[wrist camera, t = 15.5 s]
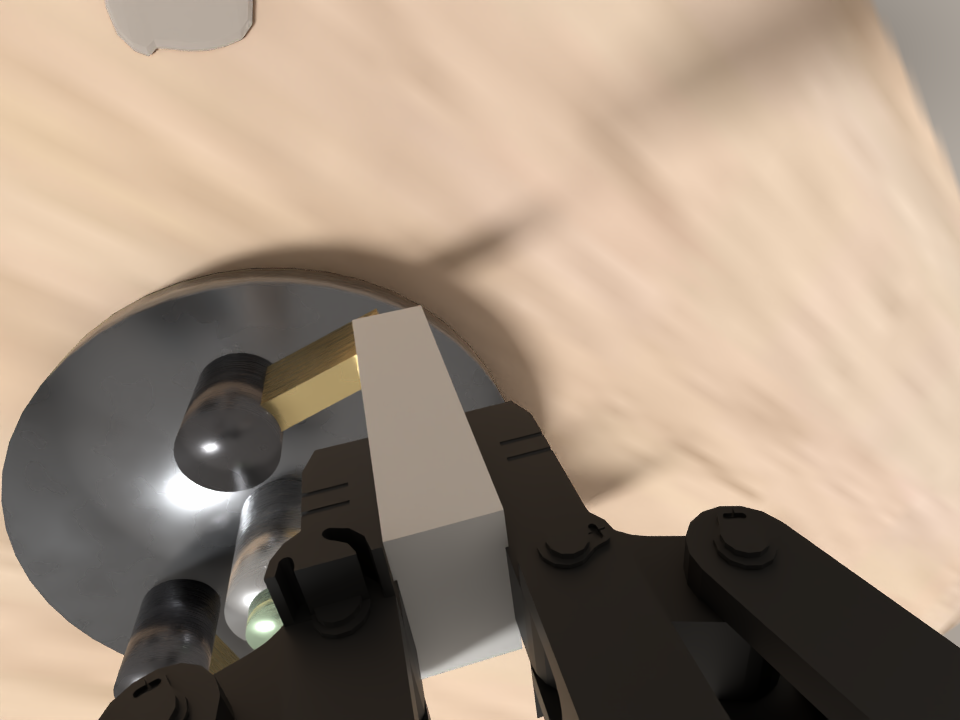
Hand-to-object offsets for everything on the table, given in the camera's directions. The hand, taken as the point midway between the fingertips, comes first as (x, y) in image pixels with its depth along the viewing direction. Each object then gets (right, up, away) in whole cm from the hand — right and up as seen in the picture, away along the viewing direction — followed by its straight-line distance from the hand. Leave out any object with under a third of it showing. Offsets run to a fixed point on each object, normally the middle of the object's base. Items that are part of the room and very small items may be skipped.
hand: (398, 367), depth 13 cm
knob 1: (-11, -13, +14) cm, 22 cm away
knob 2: (-5, 0, +9) cm, 11 cm away
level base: (-7, -6, +14) cm, 17 cm away
